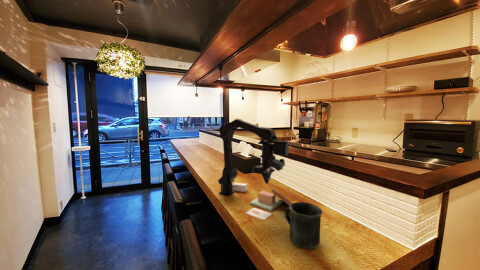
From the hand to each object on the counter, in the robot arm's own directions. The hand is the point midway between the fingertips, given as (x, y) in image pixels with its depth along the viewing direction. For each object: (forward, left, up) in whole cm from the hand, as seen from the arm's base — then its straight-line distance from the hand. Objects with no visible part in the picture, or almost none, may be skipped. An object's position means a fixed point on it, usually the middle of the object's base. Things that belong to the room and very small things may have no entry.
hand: (266, 183), depth 101 cm
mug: (+25, -18, -11) cm, 33 cm away
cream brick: (-22, +6, -11) cm, 25 cm away
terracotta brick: (0, 0, -9) cm, 9 cm away
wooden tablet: (+15, +2, -10) cm, 19 cm away
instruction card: (+3, -12, -10) cm, 16 cm away
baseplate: (0, 0, -10) cm, 10 cm away
